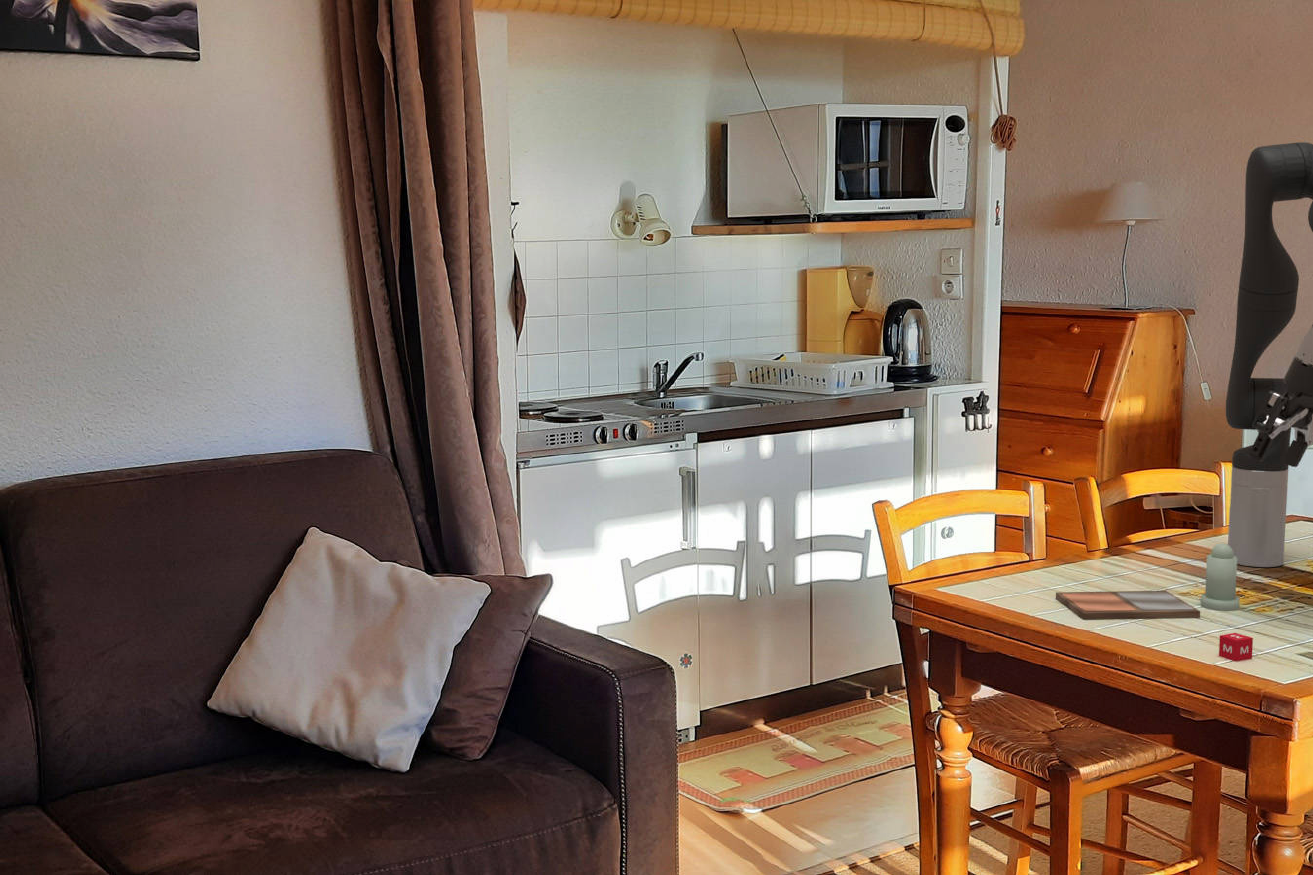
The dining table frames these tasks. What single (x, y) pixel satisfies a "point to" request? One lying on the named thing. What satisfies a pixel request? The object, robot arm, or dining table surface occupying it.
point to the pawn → (1221, 580)
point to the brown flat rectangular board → (1126, 605)
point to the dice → (1235, 647)
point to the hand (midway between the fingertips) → (1272, 461)
